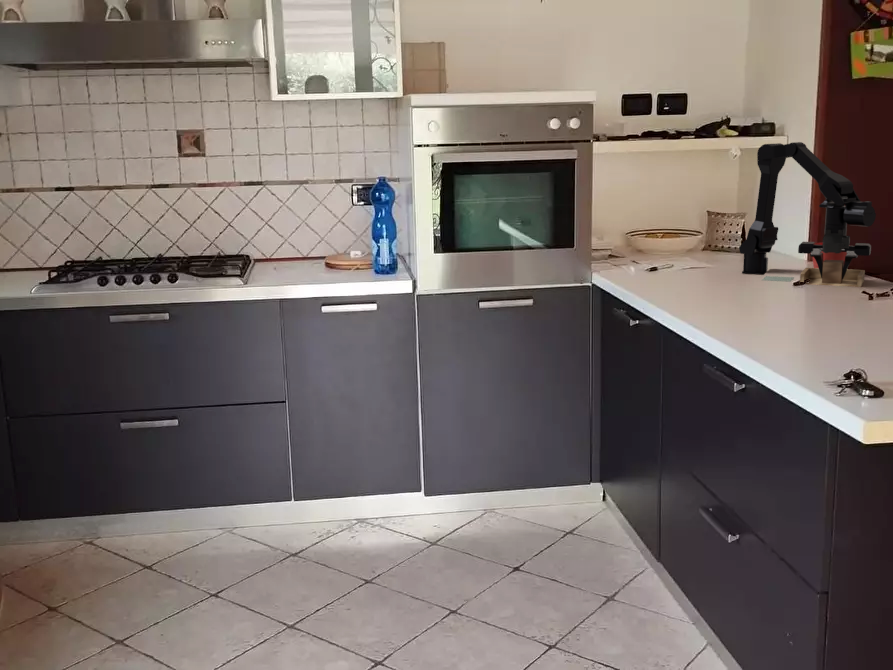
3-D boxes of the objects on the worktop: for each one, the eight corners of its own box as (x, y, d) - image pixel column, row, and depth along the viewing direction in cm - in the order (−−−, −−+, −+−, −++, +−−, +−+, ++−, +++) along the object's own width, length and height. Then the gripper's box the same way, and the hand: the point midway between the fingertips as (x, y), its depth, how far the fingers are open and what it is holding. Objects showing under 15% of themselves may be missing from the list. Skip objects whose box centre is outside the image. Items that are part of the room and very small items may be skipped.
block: (821, 282, 259) (823, 262, 257) (823, 280, 263) (825, 259, 262) (840, 283, 256) (842, 262, 255) (842, 281, 261) (843, 260, 259)
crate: (799, 285, 259) (800, 273, 258) (805, 279, 269) (805, 267, 268) (860, 288, 251) (861, 276, 250) (864, 282, 261) (864, 270, 261)
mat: (761, 282, 266) (761, 280, 266) (766, 277, 273) (766, 276, 273) (790, 283, 262) (790, 281, 262) (794, 279, 269) (794, 277, 269)
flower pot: (840, 273, 278) (843, 241, 276) (853, 279, 267) (855, 246, 265) (805, 273, 279) (807, 242, 277) (815, 279, 268) (817, 246, 266)
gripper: (797, 226, 254) (793, 281, 257) (870, 228, 245) (865, 284, 248) (802, 222, 263) (799, 275, 267) (872, 223, 254) (868, 278, 258)
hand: (832, 278), depth 260 cm, fingers closed on block, 5 cm apart
